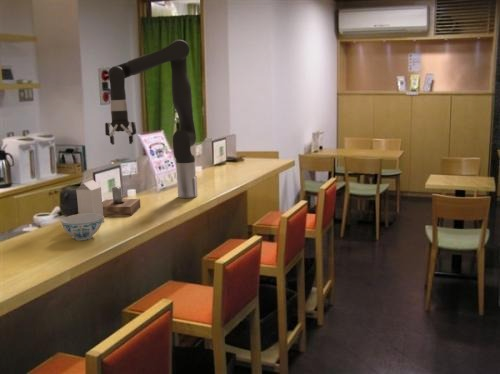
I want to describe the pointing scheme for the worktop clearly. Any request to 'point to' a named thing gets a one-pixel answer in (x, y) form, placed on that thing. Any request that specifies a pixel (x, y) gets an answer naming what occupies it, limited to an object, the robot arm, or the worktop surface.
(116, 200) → the grey upright bar
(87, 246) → the worktop surface
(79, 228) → the chinaware
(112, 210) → the block
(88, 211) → the milk carton
